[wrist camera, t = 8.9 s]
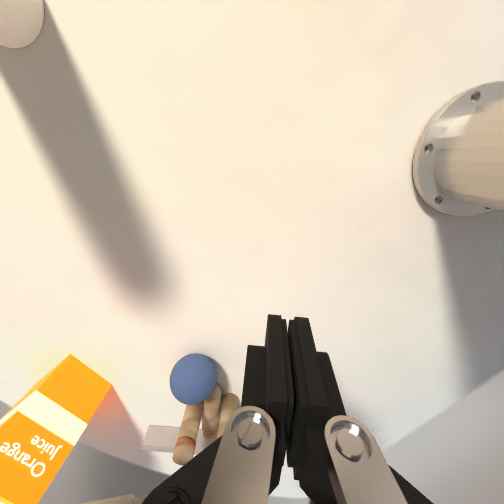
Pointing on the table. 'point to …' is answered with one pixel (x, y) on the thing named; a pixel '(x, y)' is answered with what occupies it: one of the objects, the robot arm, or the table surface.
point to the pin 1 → (188, 434)
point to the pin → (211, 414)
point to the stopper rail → (170, 439)
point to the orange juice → (46, 429)
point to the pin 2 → (227, 411)
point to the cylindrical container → (20, 22)
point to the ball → (193, 379)
